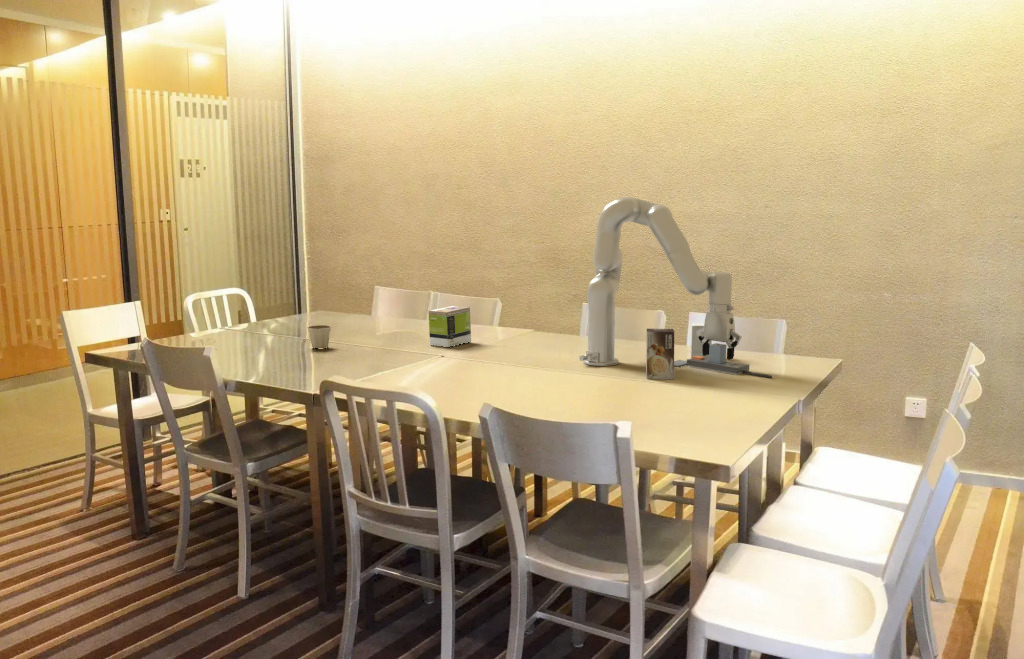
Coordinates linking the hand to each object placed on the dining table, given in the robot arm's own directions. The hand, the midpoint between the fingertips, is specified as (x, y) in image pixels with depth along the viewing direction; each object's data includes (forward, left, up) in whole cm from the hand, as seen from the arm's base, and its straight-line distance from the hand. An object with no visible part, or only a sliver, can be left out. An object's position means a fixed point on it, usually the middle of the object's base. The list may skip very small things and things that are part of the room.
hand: (717, 357), depth 293 cm
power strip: (0, -6, -4) cm, 7 cm away
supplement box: (+12, +15, -4) cm, 20 cm away
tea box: (-36, +102, -4) cm, 108 cm away
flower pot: (-78, +132, -4) cm, 153 cm away
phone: (-3, +14, -5) cm, 15 cm away
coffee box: (-25, +6, -4) cm, 26 cm away
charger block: (0, 0, -4) cm, 4 cm away
